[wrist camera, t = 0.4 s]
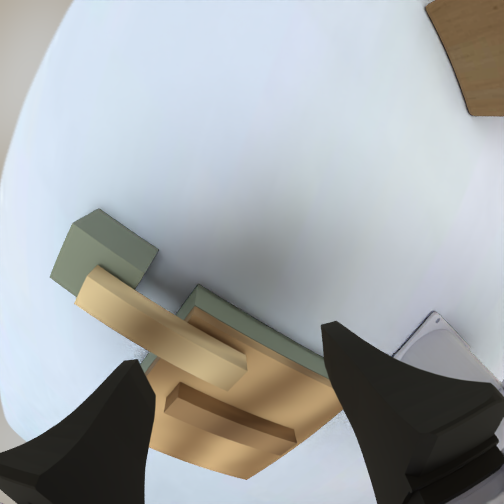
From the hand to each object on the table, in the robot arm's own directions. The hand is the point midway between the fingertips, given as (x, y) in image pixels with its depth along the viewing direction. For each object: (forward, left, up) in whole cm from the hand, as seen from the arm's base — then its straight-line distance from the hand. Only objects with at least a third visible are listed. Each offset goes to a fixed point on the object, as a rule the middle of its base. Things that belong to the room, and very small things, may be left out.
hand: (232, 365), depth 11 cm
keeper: (+7, +4, -10) cm, 13 cm away
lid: (-6, +9, -7) cm, 13 cm away
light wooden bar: (+2, +4, -6) cm, 7 cm away
